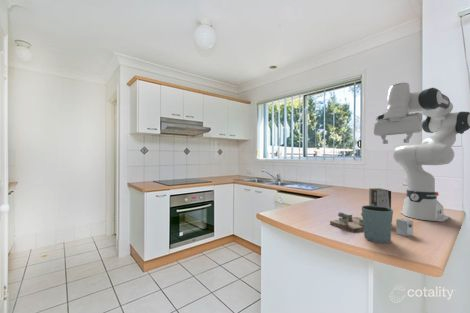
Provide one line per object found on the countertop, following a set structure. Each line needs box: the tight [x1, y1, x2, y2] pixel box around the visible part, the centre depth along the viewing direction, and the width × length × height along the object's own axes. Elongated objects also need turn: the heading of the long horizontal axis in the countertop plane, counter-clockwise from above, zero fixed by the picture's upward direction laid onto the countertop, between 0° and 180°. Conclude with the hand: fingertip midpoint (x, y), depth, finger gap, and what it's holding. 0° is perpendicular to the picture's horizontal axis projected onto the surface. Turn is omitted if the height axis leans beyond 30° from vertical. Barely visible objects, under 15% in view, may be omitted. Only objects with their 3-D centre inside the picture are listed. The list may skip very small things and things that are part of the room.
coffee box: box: [368, 187, 392, 209], centre depth 106 cm, size 9×6×16 cm
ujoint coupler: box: [395, 217, 414, 238], centre depth 89 cm, size 4×5×6 cm
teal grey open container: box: [361, 204, 394, 244], centre depth 84 cm, size 10×10×12 cm
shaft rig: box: [329, 211, 364, 233], centre depth 100 cm, size 21×12×7 cm, turn 115°
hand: (395, 143), depth 106 cm, fingers open, 8 cm apart
